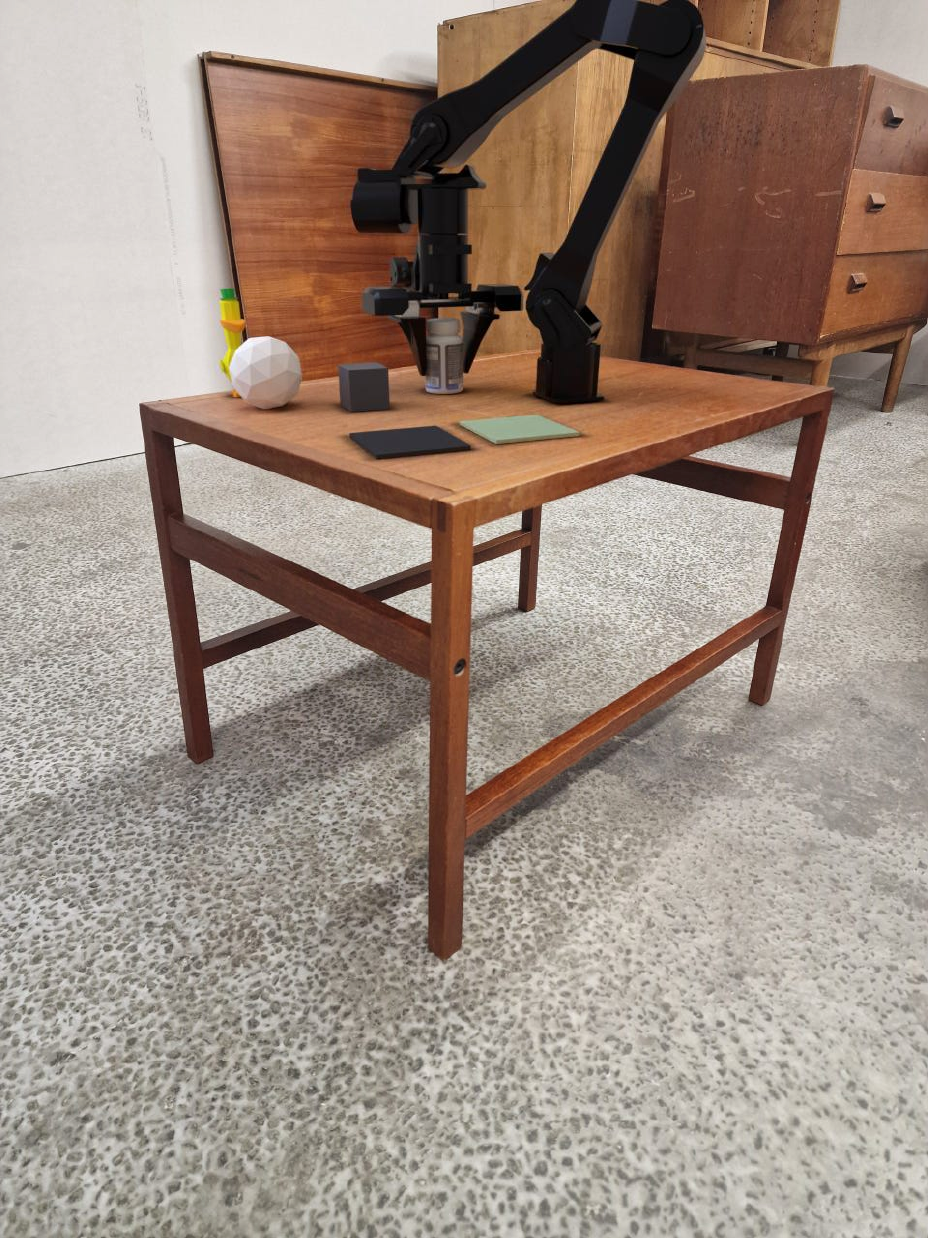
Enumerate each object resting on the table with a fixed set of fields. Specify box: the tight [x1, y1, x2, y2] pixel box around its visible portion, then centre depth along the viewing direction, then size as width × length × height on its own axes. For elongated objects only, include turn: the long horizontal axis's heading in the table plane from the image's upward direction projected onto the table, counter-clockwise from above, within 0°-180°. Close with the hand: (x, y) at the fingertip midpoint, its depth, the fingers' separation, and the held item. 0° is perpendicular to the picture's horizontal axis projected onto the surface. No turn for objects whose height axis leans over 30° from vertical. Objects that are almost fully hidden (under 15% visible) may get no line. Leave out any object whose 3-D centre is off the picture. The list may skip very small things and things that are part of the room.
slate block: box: [337, 361, 391, 413], centre depth 90 cm, size 4×4×4 cm
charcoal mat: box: [348, 425, 472, 460], centre depth 75 cm, size 9×9×1 cm
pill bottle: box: [424, 317, 464, 395], centre depth 98 cm, size 5×5×8 cm
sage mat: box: [459, 414, 580, 445], centre depth 80 cm, size 9×9×1 cm
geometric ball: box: [229, 335, 303, 411], centre depth 89 cm, size 8×8×8 cm
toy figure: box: [219, 288, 247, 398], centre depth 94 cm, size 7×4×12 cm, turn 26°
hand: (444, 374), depth 99 cm, fingers open, 5 cm apart
